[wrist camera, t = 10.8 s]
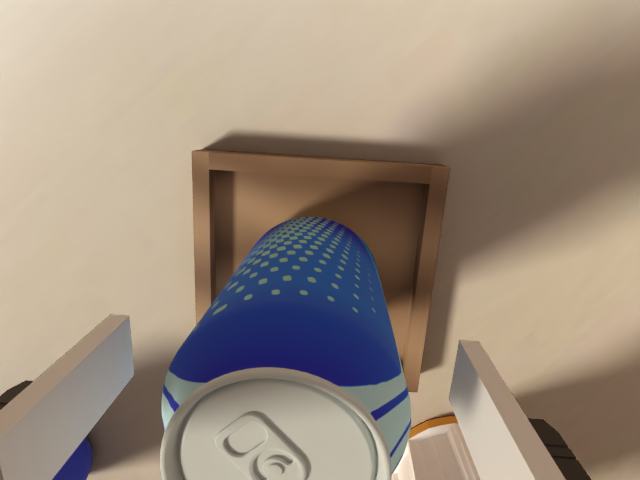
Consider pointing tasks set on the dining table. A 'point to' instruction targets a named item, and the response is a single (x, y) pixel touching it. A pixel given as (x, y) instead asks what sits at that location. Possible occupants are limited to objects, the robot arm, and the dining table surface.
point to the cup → (436, 453)
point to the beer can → (290, 368)
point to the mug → (77, 464)
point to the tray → (330, 203)
